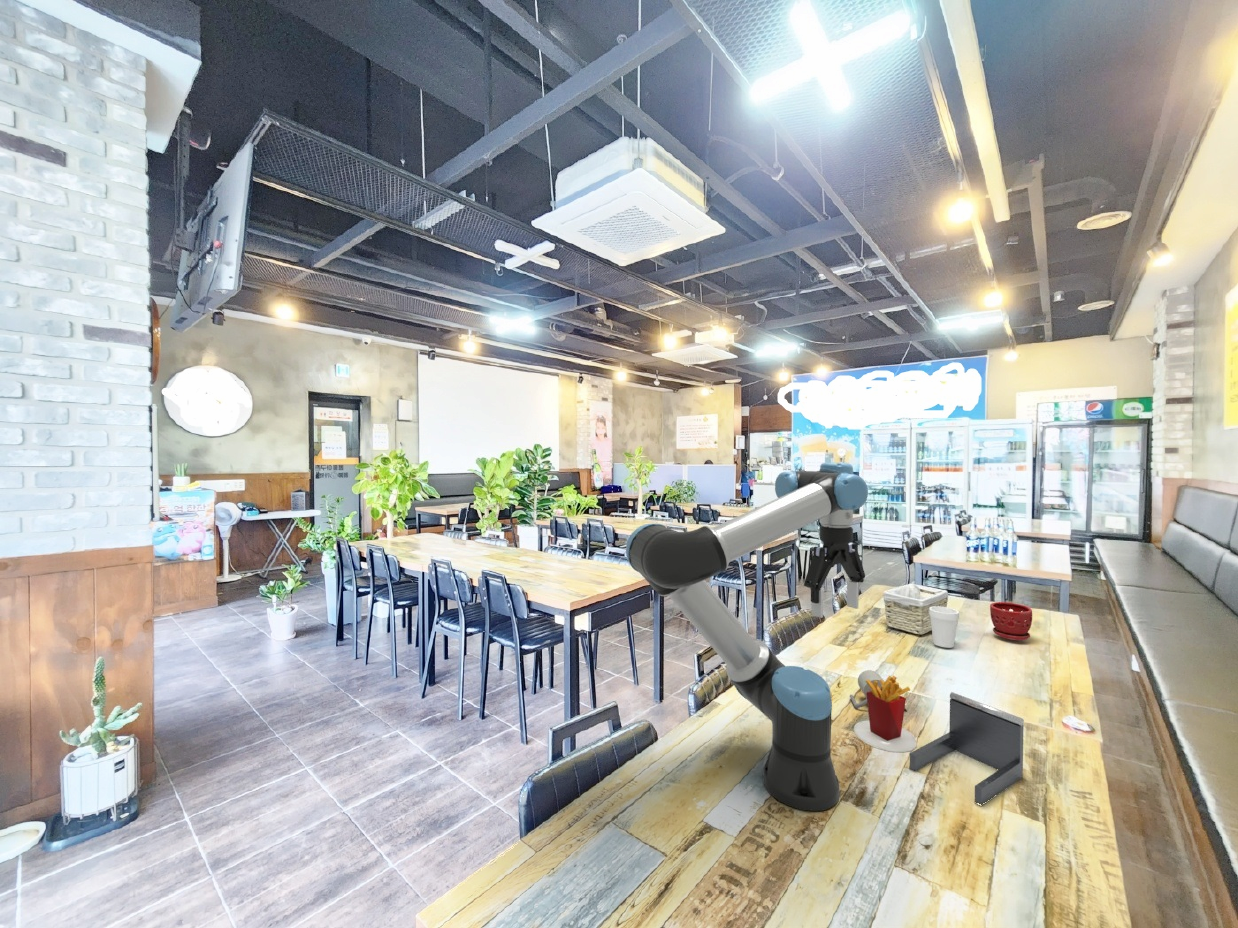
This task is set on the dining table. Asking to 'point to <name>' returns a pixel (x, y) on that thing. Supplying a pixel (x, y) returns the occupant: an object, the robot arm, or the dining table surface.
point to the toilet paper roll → (866, 685)
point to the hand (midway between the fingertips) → (835, 611)
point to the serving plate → (895, 745)
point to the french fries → (886, 708)
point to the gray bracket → (979, 744)
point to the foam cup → (943, 625)
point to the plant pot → (1011, 620)
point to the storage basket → (912, 607)
